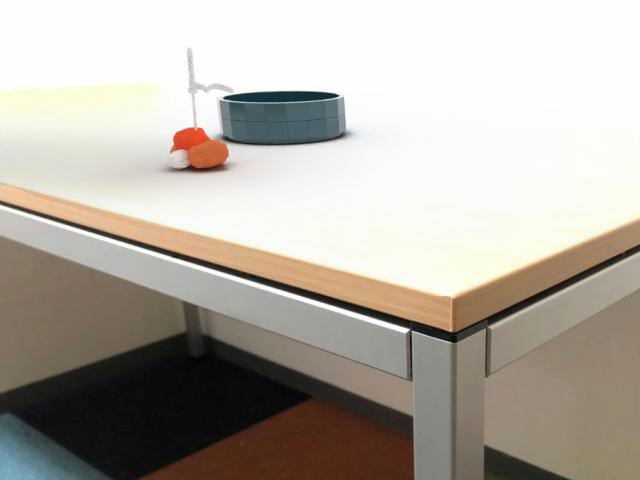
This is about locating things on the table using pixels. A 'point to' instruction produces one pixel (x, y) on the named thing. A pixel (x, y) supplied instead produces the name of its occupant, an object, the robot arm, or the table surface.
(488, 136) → the table surface
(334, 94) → the bowl
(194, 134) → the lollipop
